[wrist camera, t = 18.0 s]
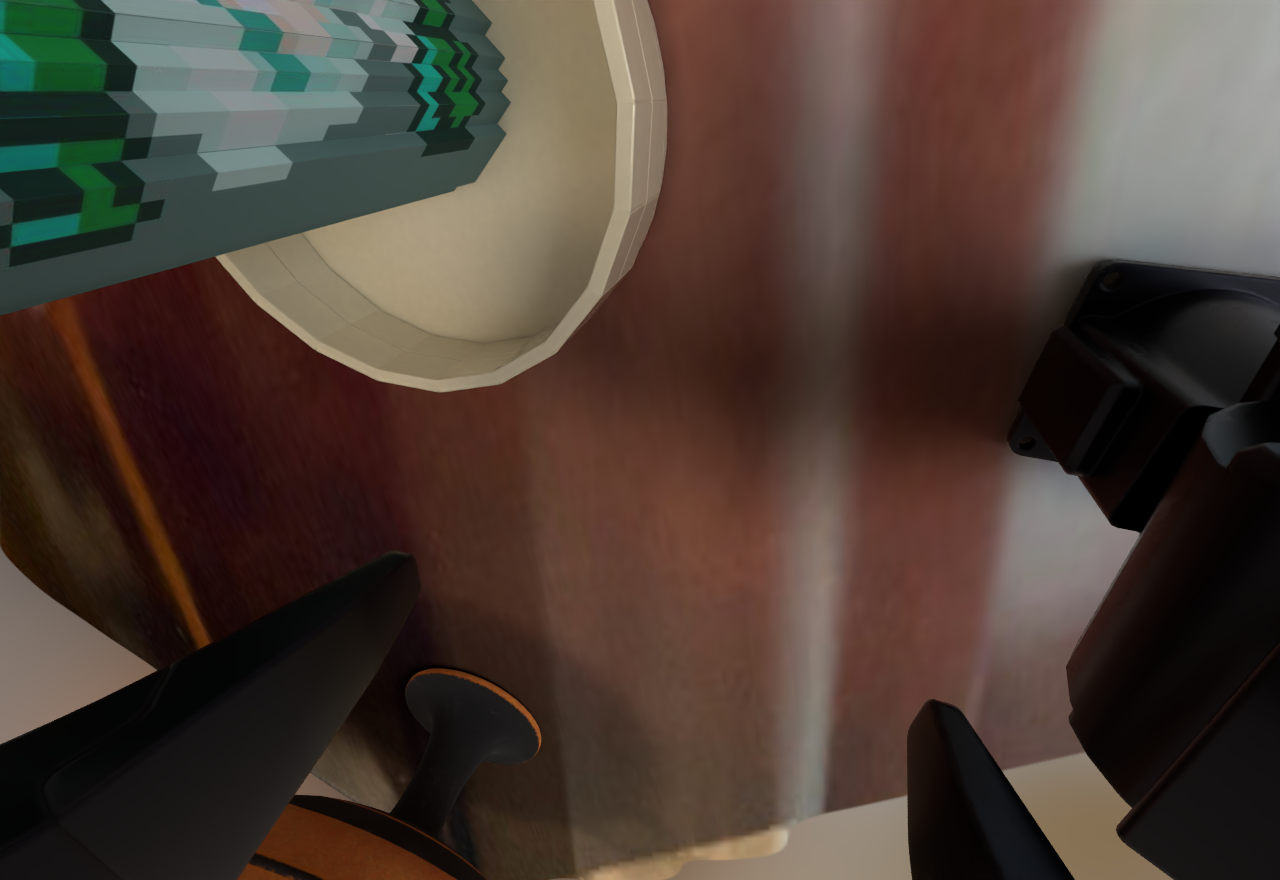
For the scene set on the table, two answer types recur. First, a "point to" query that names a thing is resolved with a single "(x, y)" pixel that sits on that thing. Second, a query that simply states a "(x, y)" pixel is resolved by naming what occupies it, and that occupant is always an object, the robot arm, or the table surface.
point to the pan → (495, 216)
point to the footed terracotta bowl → (405, 794)
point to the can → (225, 126)
